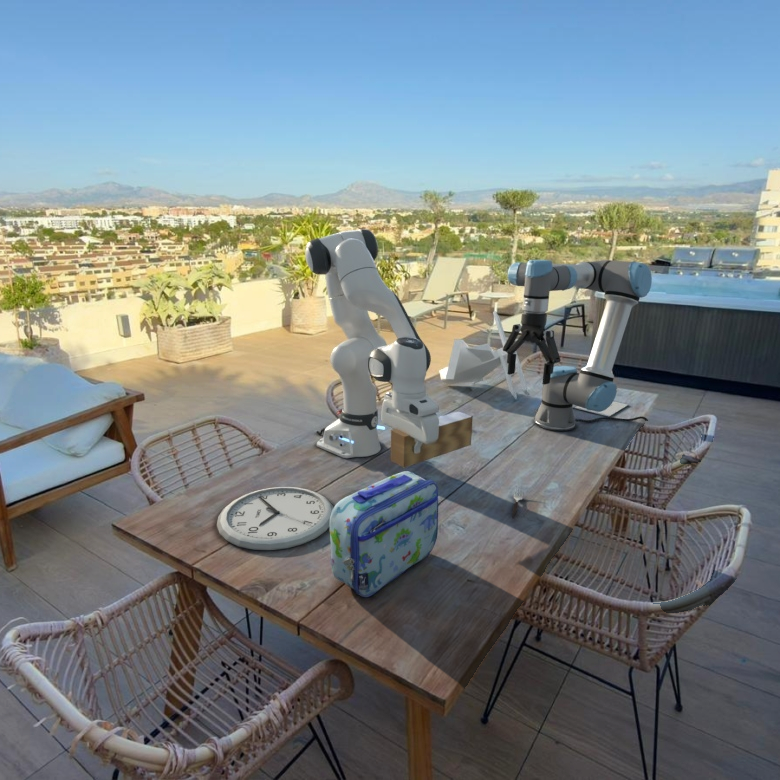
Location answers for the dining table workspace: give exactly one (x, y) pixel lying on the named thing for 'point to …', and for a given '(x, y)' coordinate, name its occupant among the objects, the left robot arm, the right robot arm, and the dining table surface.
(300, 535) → the wall clock
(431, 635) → the dining table surface
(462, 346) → the white plastic object
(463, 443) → the bar
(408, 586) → the dining table surface
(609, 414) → the invitation card
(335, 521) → the lunch box
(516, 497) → the fork
